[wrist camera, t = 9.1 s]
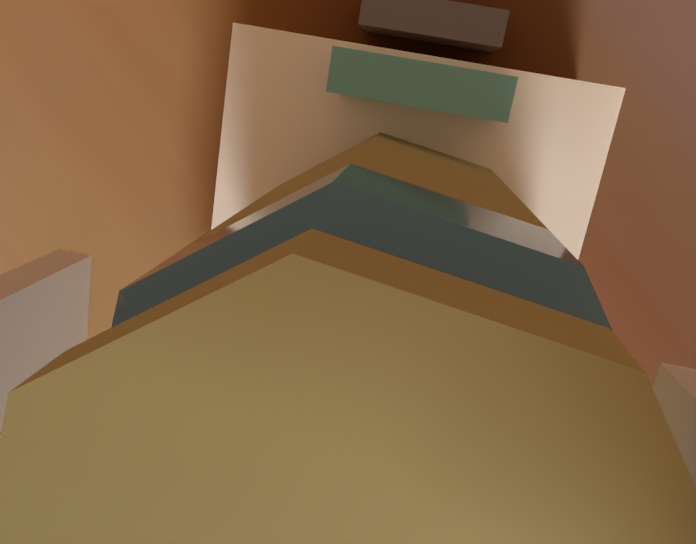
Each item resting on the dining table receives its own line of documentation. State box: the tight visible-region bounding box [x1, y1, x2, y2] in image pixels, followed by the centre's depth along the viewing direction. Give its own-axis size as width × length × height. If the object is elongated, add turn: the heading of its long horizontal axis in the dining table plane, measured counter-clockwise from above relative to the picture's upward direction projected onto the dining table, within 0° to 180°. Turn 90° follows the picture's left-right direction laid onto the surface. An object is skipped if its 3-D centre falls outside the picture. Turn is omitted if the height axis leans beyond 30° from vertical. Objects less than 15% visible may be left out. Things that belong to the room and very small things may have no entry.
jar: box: [0, 132, 696, 544], centre depth 14 cm, size 9×9×15 cm
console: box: [211, 0, 626, 260], centre depth 21 cm, size 12×28×8 cm, turn 171°
